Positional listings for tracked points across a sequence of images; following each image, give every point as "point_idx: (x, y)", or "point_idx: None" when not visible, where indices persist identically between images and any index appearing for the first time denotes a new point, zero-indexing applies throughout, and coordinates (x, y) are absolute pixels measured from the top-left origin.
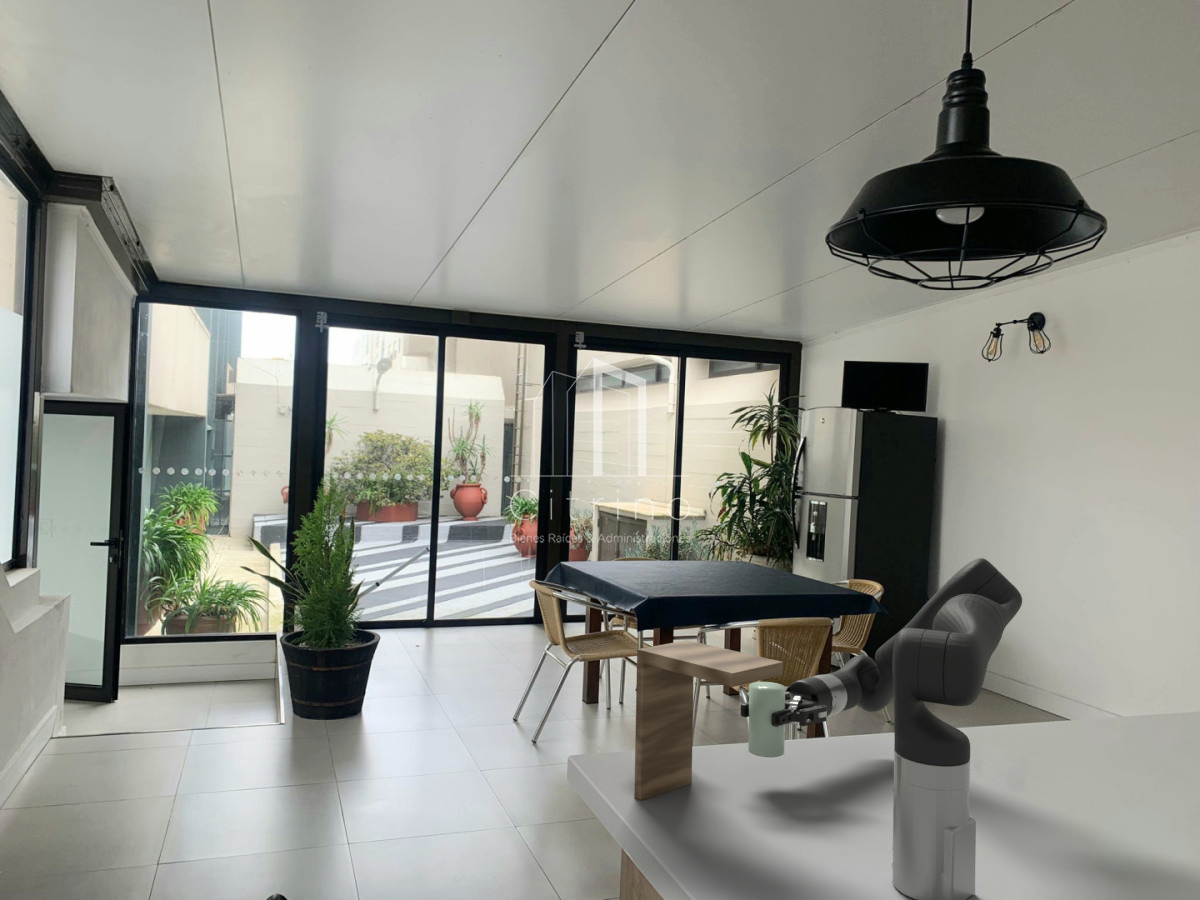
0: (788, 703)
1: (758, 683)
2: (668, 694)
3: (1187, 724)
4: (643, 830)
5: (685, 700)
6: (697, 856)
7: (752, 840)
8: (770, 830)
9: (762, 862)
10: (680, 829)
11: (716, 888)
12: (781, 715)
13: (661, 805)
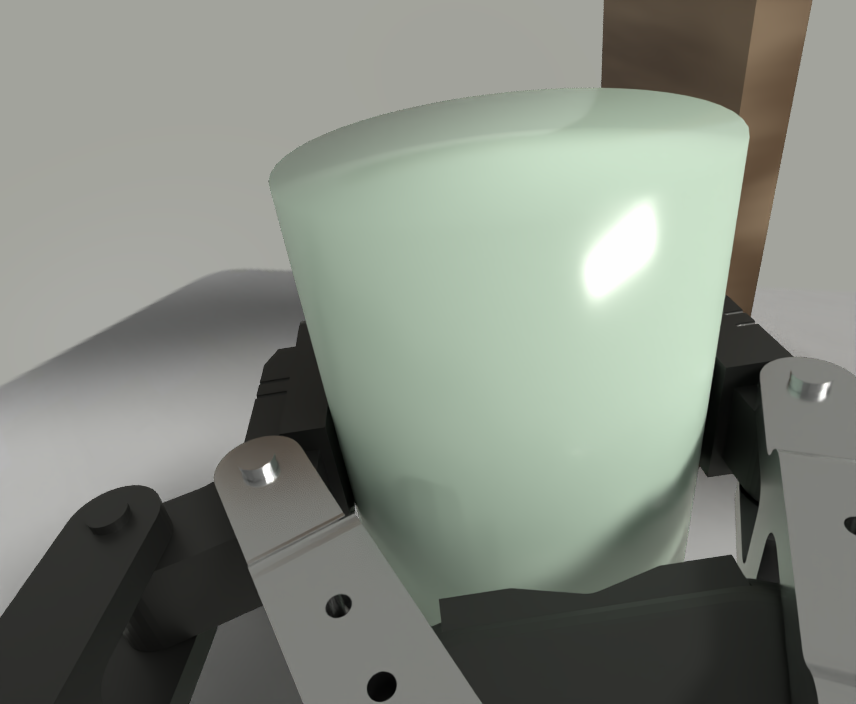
0: (495, 627)
1: (666, 121)
2: (658, 11)
3: None
4: None
5: (711, 85)
6: (277, 307)
7: (226, 401)
8: (217, 462)
9: (152, 369)
10: None
11: (182, 290)
12: (282, 368)
13: None
